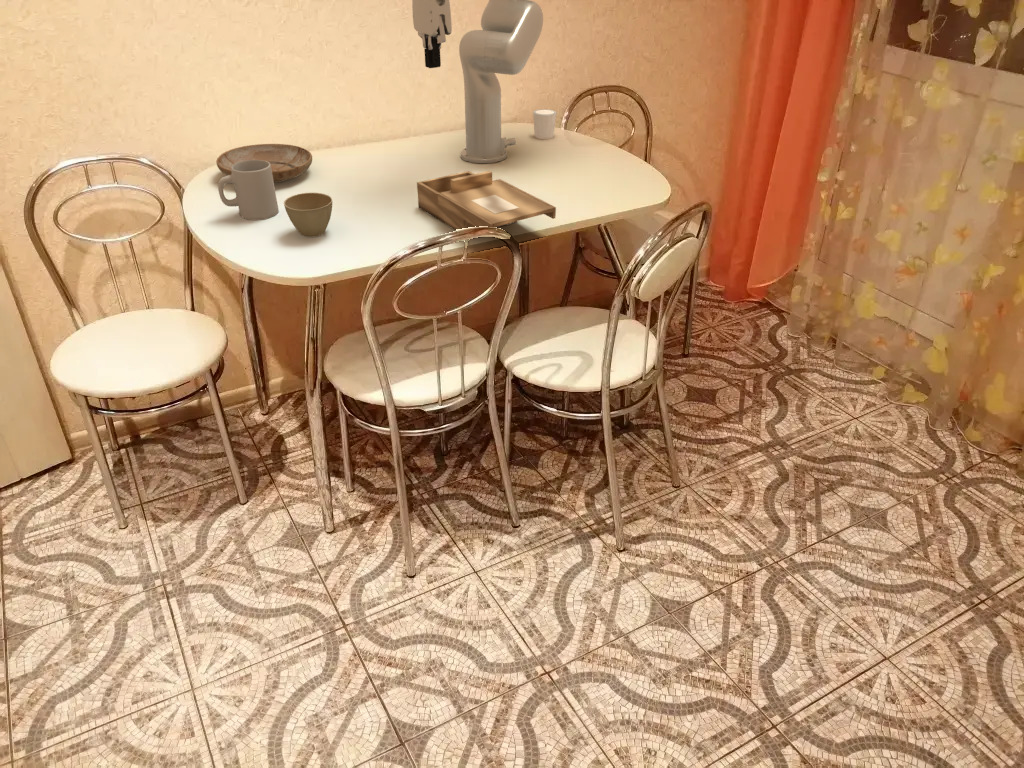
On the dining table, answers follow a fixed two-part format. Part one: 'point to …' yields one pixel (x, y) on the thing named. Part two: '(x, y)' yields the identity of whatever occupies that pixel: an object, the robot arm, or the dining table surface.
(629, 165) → the dining table surface
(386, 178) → the dining table surface
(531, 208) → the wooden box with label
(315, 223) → the flower pot
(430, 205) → the wooden box base
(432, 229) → the dining table surface
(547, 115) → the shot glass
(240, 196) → the mug
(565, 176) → the dining table surface
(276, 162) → the shallow wooden bowl
